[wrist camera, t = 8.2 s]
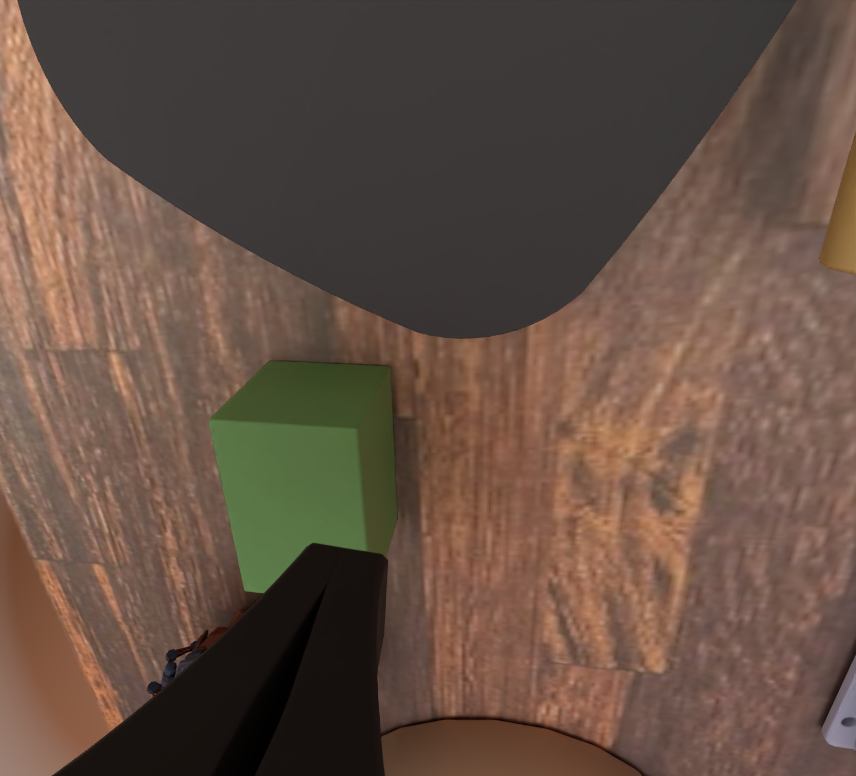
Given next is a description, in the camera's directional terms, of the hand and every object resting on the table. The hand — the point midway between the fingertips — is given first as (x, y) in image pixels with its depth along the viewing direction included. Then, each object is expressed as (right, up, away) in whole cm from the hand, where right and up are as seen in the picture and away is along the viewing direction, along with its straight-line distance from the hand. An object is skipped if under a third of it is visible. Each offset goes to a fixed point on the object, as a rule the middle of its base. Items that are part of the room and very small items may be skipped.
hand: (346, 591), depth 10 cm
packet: (-2, +2, +9) cm, 10 cm away
